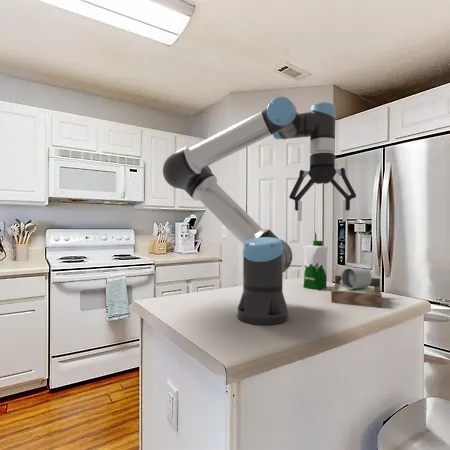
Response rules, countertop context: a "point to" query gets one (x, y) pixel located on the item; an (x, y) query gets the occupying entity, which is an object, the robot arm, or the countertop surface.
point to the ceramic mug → (355, 278)
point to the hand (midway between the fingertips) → (321, 221)
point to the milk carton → (315, 265)
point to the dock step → (357, 294)
